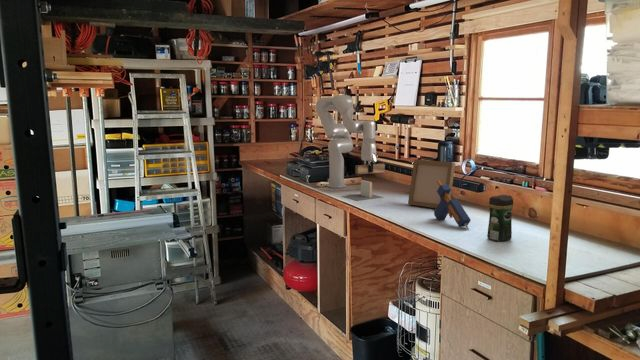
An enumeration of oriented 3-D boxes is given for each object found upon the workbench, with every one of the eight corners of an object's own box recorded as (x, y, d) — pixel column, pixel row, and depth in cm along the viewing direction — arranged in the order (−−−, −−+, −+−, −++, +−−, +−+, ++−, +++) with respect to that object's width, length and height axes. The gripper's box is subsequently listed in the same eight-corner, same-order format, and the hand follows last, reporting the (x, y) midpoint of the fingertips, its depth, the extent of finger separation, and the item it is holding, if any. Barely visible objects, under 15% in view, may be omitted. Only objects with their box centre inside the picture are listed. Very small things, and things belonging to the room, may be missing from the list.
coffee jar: (498, 235, 211) (501, 192, 208) (514, 239, 204) (517, 195, 201) (483, 238, 206) (485, 194, 203) (499, 243, 199) (502, 198, 196)
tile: (360, 195, 294) (360, 180, 293) (362, 194, 295) (362, 180, 294) (369, 197, 287) (370, 182, 286) (371, 197, 288) (372, 182, 286)
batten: (355, 173, 297) (355, 165, 297) (381, 171, 308) (381, 163, 307) (358, 174, 295) (358, 166, 294) (384, 172, 305) (384, 163, 304)
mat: (340, 197, 291) (340, 196, 291) (367, 193, 302) (367, 192, 301) (356, 202, 278) (356, 201, 278) (384, 198, 288) (384, 197, 288)
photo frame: (445, 211, 255) (448, 163, 252) (407, 205, 268) (409, 160, 265) (456, 206, 267) (459, 160, 263) (419, 201, 280) (421, 158, 276)
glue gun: (454, 248, 227) (468, 227, 217) (421, 200, 245) (432, 178, 235) (464, 245, 229) (479, 225, 219) (430, 198, 248) (442, 177, 238)
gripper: (356, 141, 303) (356, 170, 306) (372, 142, 289) (372, 173, 292) (366, 140, 307) (366, 169, 309) (382, 141, 293) (382, 172, 296)
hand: (369, 171), depth 301 cm, fingers closed on batten, 3 cm apart
